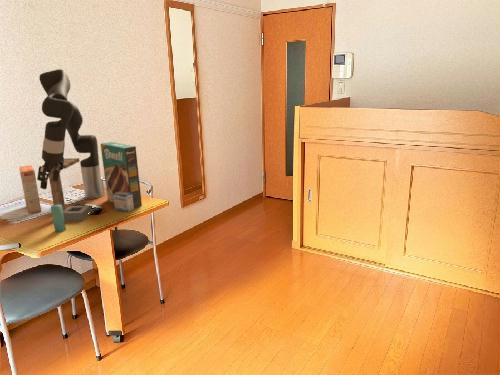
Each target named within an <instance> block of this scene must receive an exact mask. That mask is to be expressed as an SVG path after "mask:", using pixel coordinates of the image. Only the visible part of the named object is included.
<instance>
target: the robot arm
mask: <svg viewBox="0 0 500 375" xmlns="http://www.w3.org/2000/svg"><path fill="white" fill-rule="evenodd" d="M69 78H70V77H69V76H68V74H67V73H66V71H65V70H64V69H61V68H60V69H54V70H50V71H45V72H42V73H40V75H39V82H40V84H41V87H42V88H43V91H45V94H46V95H47V96H46V97H45V98H44V100H42V104H41V112H42V114H43V115H45V116H46V117H49V118H54V119H55V118H56V119H59V120H55V121H48V122H47V123H46V124H45V128H44V137H43V138H44V139H43V142H42V151H41V159H42V160H43V162H44V164H43V165H44V166H43V167H42V165H39V167H38V171H37V172H38V173H37V177H36V178H37V179H36V181H40V185H39V186H40V189H42V190H46V189H47V188H48V180H49V177H50V176H51V175H52V172H53V178H52V179H53V180H54V181H58V179H59V173H60V174H61V172H62V171H63V170H64V169H63V163H64V159H65V158H64V153H65V146H66V145H65V144H66V142H65V140H66V133H68V135H69V137H70V140H71V143H72V145H73V147H74V149H75V151H76V152H77V153H79V154H89V156H88V157H87V158H84V159H81V160H79V164H80V170H81V171H80V172H81V176H82V177H81V178H82V184H83V192H84V198H86V199H98V198H102V197H103V196H105V195H106V193H105V186H104V178H103V177H102V176H101V168H100V157H99V156H100V155H99V149H98V148H99V146H98V139H97V137H96V136H95V134H85V135H80V133H79V131H80V129H81V127H82V126H83V118H84V117H83V116H82V113H81V112H80V109H79V107H78V106H77V105H76V104H74V103H73V102H71V101H70V100H68V94H69V92H70V90H71V82H70V81H71V80H70V79H69ZM59 165H61V167H60V166H59ZM48 173H49V174H48Z"/></svg>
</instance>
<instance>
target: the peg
mask: <svg viewBox="0 0 500 375" xmlns="http://www.w3.org/2000/svg"><path fill="white" fill-rule="evenodd" d="M50 212H51V217H52V221H53V222H52V224H53V228H54V233H63V232H65V231H67V228H66V222H64V216H63V209H62V205H60V204H57V205H54V204H53V205H51V206H50Z"/></svg>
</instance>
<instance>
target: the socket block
mask: <svg viewBox="0 0 500 375" xmlns="http://www.w3.org/2000/svg"><path fill="white" fill-rule="evenodd" d="M65 208H66V209H65V210H63V216H64V222H65V223H66V222H67V223H68V222H84V221H85V220H86V219H87V218H88V217H89V216H91V215H92V213H93V212H92V206H91V205H69V206H68V207H65ZM90 211H91V212H90ZM89 212H90V213H89ZM88 213H89V214H88Z"/></svg>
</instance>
